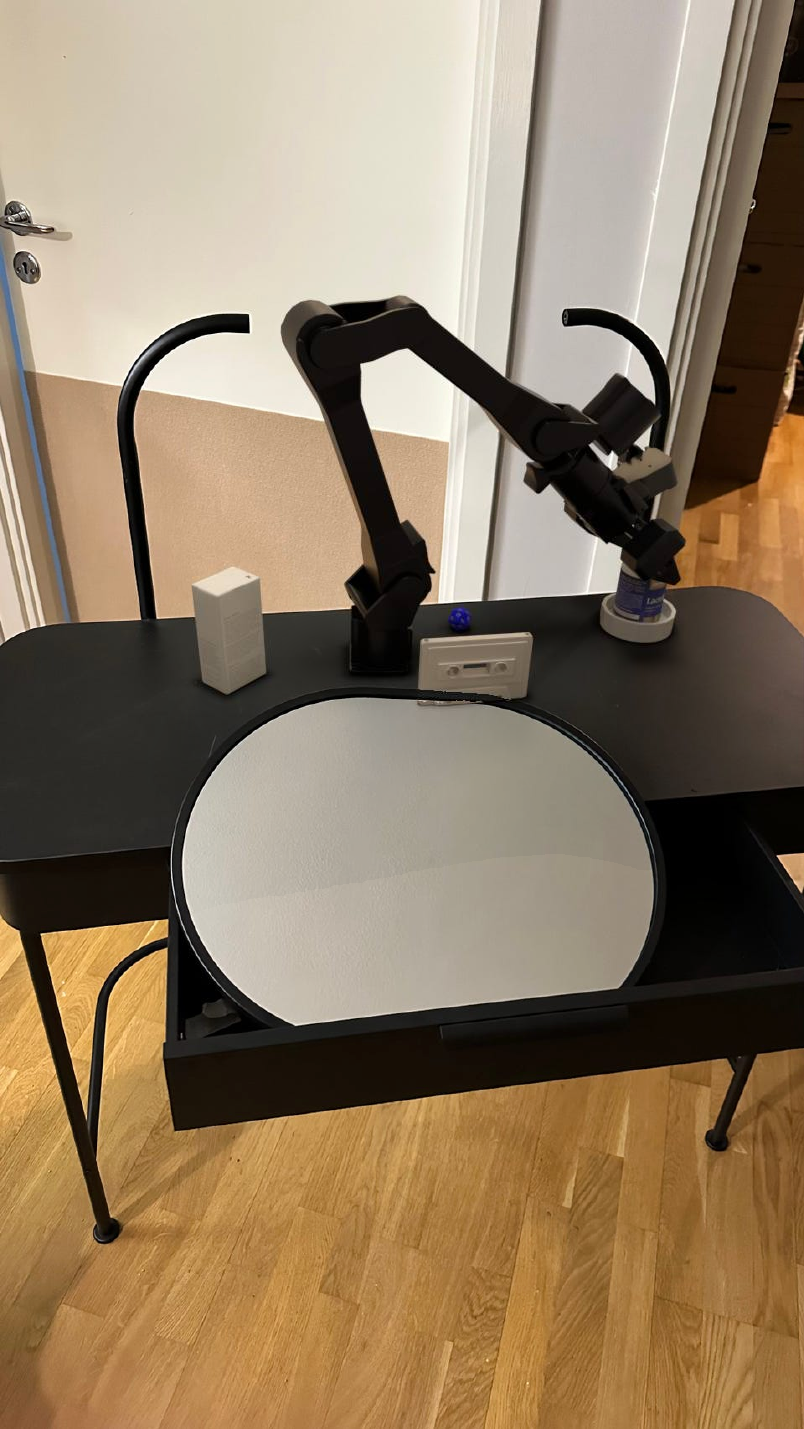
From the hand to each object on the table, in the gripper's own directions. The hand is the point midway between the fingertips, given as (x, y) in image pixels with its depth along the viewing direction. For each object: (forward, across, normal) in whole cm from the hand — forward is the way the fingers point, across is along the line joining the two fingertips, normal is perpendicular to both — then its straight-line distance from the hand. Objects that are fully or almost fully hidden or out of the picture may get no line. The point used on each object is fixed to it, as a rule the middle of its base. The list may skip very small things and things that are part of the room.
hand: (656, 565), depth 117 cm
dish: (+5, 0, +7) cm, 8 cm away
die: (-10, +5, +22) cm, 25 cm away
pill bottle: (+4, 0, +6) cm, 7 cm away
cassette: (-14, -10, +25) cm, 30 cm away
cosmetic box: (-30, 0, +42) cm, 52 cm away
